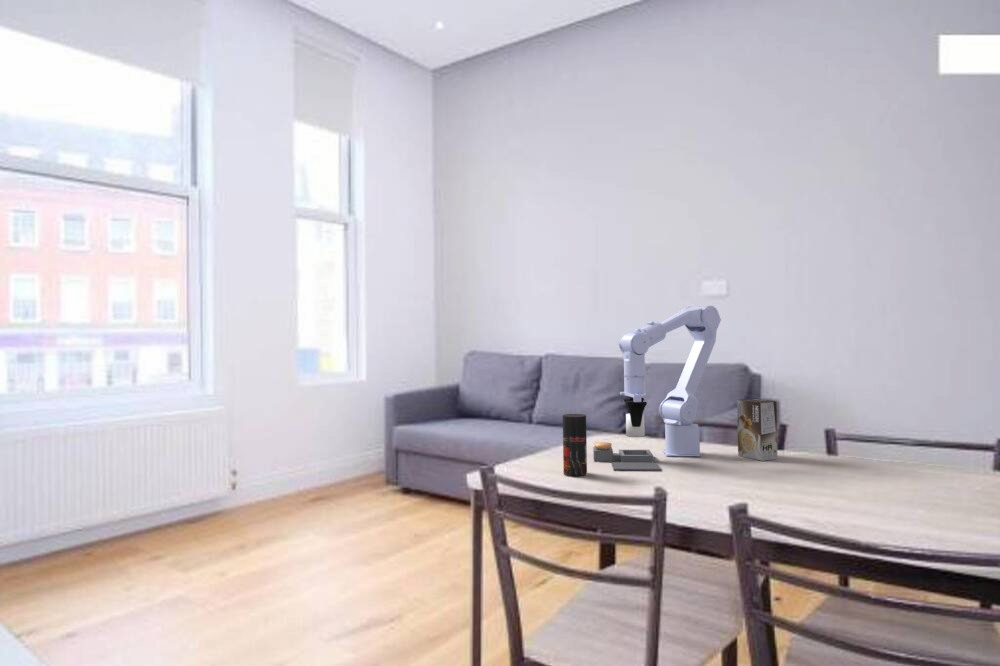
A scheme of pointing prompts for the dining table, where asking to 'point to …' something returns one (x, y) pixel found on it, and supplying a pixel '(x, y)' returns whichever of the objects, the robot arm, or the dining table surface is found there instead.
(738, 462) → the dining table surface
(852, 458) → the dining table surface
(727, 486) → the dining table surface
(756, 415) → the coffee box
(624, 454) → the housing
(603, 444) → the plunger
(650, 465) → the mat
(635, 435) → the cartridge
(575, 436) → the deodorant
